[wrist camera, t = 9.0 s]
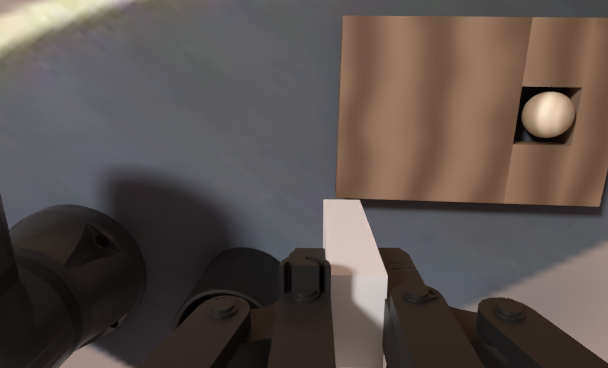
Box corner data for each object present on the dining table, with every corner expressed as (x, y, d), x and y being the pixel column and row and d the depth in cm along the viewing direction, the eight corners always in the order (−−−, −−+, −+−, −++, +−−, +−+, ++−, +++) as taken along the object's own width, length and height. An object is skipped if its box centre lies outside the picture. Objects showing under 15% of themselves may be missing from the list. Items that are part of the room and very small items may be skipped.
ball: (510, 136, 35) (559, 142, 32) (517, 90, 34) (569, 92, 31) (528, 133, 37) (576, 138, 34) (536, 90, 36) (586, 92, 33)
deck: (335, 190, 39) (335, 197, 37) (342, 20, 35) (343, 15, 33) (582, 198, 38) (599, 206, 35) (618, 22, 34) (641, 18, 31)
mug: (317, 319, 43) (314, 380, 34) (211, 325, 44) (183, 386, 35) (308, 240, 41) (302, 284, 32) (197, 249, 42) (162, 293, 33)
